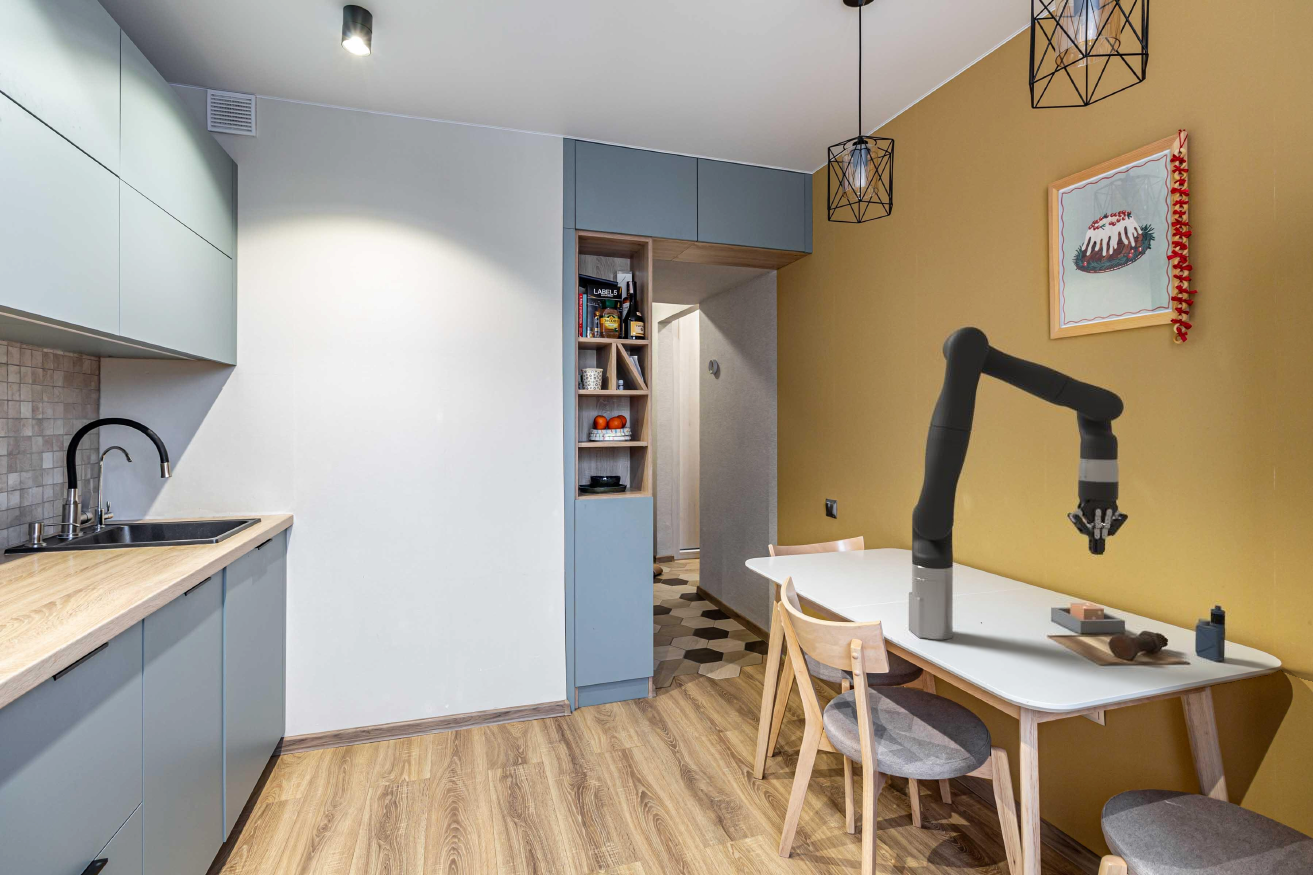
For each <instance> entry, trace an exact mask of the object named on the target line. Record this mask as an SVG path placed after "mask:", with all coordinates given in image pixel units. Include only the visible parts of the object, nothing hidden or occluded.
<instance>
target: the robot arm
mask: <svg viewBox="0 0 1313 875" xmlns="http://www.w3.org/2000/svg"><path fill="white" fill-rule="evenodd" d="M942 354H943V357H944V359H945V361H946V362H945V371H944V379H943V384H942V388H941V391H940V393H939V396H938V398H937V401H936V403H935V406H934V409H933V411H932V415H931V419H930V423H929V426H928V427H929V428H928V433H927V437H926V443H925V445H926V446H925V456H924V476H923V483H922V487H921V490H920V495H919V498H918V501H917V503H916V505H915V506H914V507H913V511H912V514H911V515H912V516H911V518H912V519H911V522H912V523H911V537H912V538H911V591H910V592H909V593H908V631H910V632H911V633H913V634H914V635H915V636H916V637H918V638H921V639H923V638H924V639H930V640H942V641H943V640H948V639H951V638H952V637H953V632H954V630H953V629H954V627H953V619H954V617H953V614H954V612H953V610H954V609H953V608H954V607H953V606H954V605H953V604H954V601H953V600H954V598H953V597H954V596H953V595H954V594H953V592H954V590H953V589H954V586H953V585H954V583H953V582H954V580H953V579H954V554H953V553H954V552H953V527H954V525H955V524H954V521H955V517H954V516H955V503H956V502H955V501H956V494H957V493H956V492H957V487H958V482H959V479H960V476H961V473H962V470H963V468H964V467H963V466H964V464H965V460H966V456H967V452H968V449H969V444H970V440H971V433H972V429H973V423H974V422H973V421H974V415H975V408H976V399H977V398H976V397H977V390H978V386H979V381H980V378H981V374H983V375H986V376H989V377H992V378H994V379H997V380H999V381H1003V383H1004V382H1005V383H1007V384H1009V385H1011V386H1013V387H1016V388H1017V389H1019V390H1022V391H1024V392H1026V393H1028V394H1029V395H1032V396H1035V397H1037V398H1039V399H1041V400H1044V401H1045V402H1049V403H1050V404H1053V405H1055V406H1059V407H1063V408H1064V407H1065V408H1068V409H1071V410H1073V411H1075V412H1076V421H1077V422H1076V423H1077V428H1078V432H1079V436H1080V444H1079V445H1080V446H1079V449H1080V450H1079V464H1078V472H1077V473H1078V478H1077V479H1078V480H1077V483H1078V484H1077V497H1078V500H1079V501H1078V504H1077V508H1076V510H1075V511H1073V512H1068V513H1067V519H1069V520H1070V522H1071V523H1072V524H1073V526H1074V528H1076V530H1077V531H1078V533H1079V534H1081V535H1084V536H1087V537H1088V551H1089V552H1090V554H1091V555H1096V556H1103V555H1104V553H1105V552H1106V540H1107V538H1108V537H1111V536H1112V537H1114V536H1115V535H1116V534H1117V533H1118V531H1119V530H1120V528H1121V527H1122V526H1123V525H1124V523H1125V522H1126V521H1128V518H1129V516H1128V514H1127V513H1123V512H1122V511H1120V510H1119V505H1118V504H1117V501H1118V500H1119V484H1120V483H1119V476H1120V472H1119V470H1120V468H1119V463H1118V462H1119V461H1118V459H1119V458H1118V457H1119V456H1118V454H1119V453H1118V450H1119V442H1118V438H1117V436H1116V435H1115V434H1114V432H1113V428H1112V426H1113V425H1112V422H1113V421H1115V420H1117V419H1118V418H1119V417H1120V416H1121V415H1122V414H1123V412H1124V409H1125V407H1124V406H1125V405H1124V402H1123V400H1122V398H1121V397H1120V396H1119V395H1118V394H1117V393H1114V392H1113V391H1111V390H1109V389H1106V388H1103V387H1100V386H1098V385H1094V384H1091V383H1087V382H1084V381H1081V380H1079V379H1075V378H1074V377H1072V376H1070V375H1067V374H1065V373H1063V372H1061V371H1059V370H1055V369H1053V368H1051V367H1049V366H1047V365H1043V364H1039V363H1036V362H1034V361H1030V360H1027V359H1023V358H1019V357H1017V356H1014V355H1011V354H1008V353H1005V352H1003V351H1001V350H999V349H997V348H996V347H993V345H992V346H991V345H990V343H989V339H988V337H987V335H986V333H985V332H984V331H983V330H981V329H980V328H978V327H975V326H974V327H973V326H965V327H962V328H959V329H957V330H955V331H954V332H953V333H951V334H949V336H947V338H946V339H945V340H944V342H943V344H942Z"/></svg>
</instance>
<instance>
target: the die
mask: <svg viewBox="0 0 1313 875" xmlns="http://www.w3.org/2000/svg"><path fill="white" fill-rule="evenodd" d="M1069 607H1070V615H1072V616H1074V617H1077V618H1079V619H1081V620H1104V612H1105V608H1103V607H1101V606H1099V605H1096V604H1094V603H1092V602H1070V606H1069Z"/></svg>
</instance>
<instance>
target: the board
mask: <svg viewBox="0 0 1313 875" xmlns="http://www.w3.org/2000/svg"><path fill="white" fill-rule="evenodd" d="M1114 635H1115V634H1101V635H1079V634H1047V635H1046V637H1047V638H1048V639H1049V640H1052V641H1054V642H1056V643H1058V644H1060V645H1062V646H1064V647H1065V648H1067V649H1069V650H1071V651H1072V652H1074V653H1075V654H1079V655H1081V656H1083V657H1084V658H1085V659H1087V660H1089V661H1091V662H1093V663H1094V664H1097V665H1099V666H1140V665H1141V666H1143V665H1144V666H1146V665H1147V666H1152V665H1156V666H1157V665H1161V666H1162V665H1190V664H1191V663H1190V661H1187V660H1183V659H1181V658H1178V657H1177V656H1174V655H1172V654H1170V653H1168V652H1165V651H1163V650H1162V649H1161V650H1160V651H1159V652H1158V653H1155V654H1153V653H1149V652H1145V651H1143V652H1139V653H1138V655H1137V656H1136V657H1135V658H1134V659H1133V660H1132V661H1126V660H1122V659H1120V658H1117V657H1115V656H1114V655H1113V653H1112V652H1111V650H1110V648H1109V644H1108V643H1109V641H1110V639H1111V638H1112V637H1113V636H1114ZM1123 635H1126V636H1129V634H1126V633H1125V634H1123Z"/></svg>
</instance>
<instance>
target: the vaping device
mask: <svg viewBox="0 0 1313 875" xmlns="http://www.w3.org/2000/svg"><path fill="white" fill-rule="evenodd" d="M1225 641H1226V611H1225V610H1223V609H1222V606H1221V605H1219V604H1218V605H1217V604H1215V605H1214V608H1210V620H1209V619H1207V618H1198V622H1197V623H1196V625H1195V641H1194V642H1195V647H1194V648H1195V650H1194V651H1195V653H1196V656H1197V657H1200V658H1202V657H1203V658H1202V659H1205V658H1206V660H1208V659H1209V660H1208V661H1212V660H1213V661H1212V662H1216V661H1217V662H1216V663H1223V662H1225V655H1226V654H1225V643H1226V642H1225ZM1222 661H1223V662H1222Z"/></svg>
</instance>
